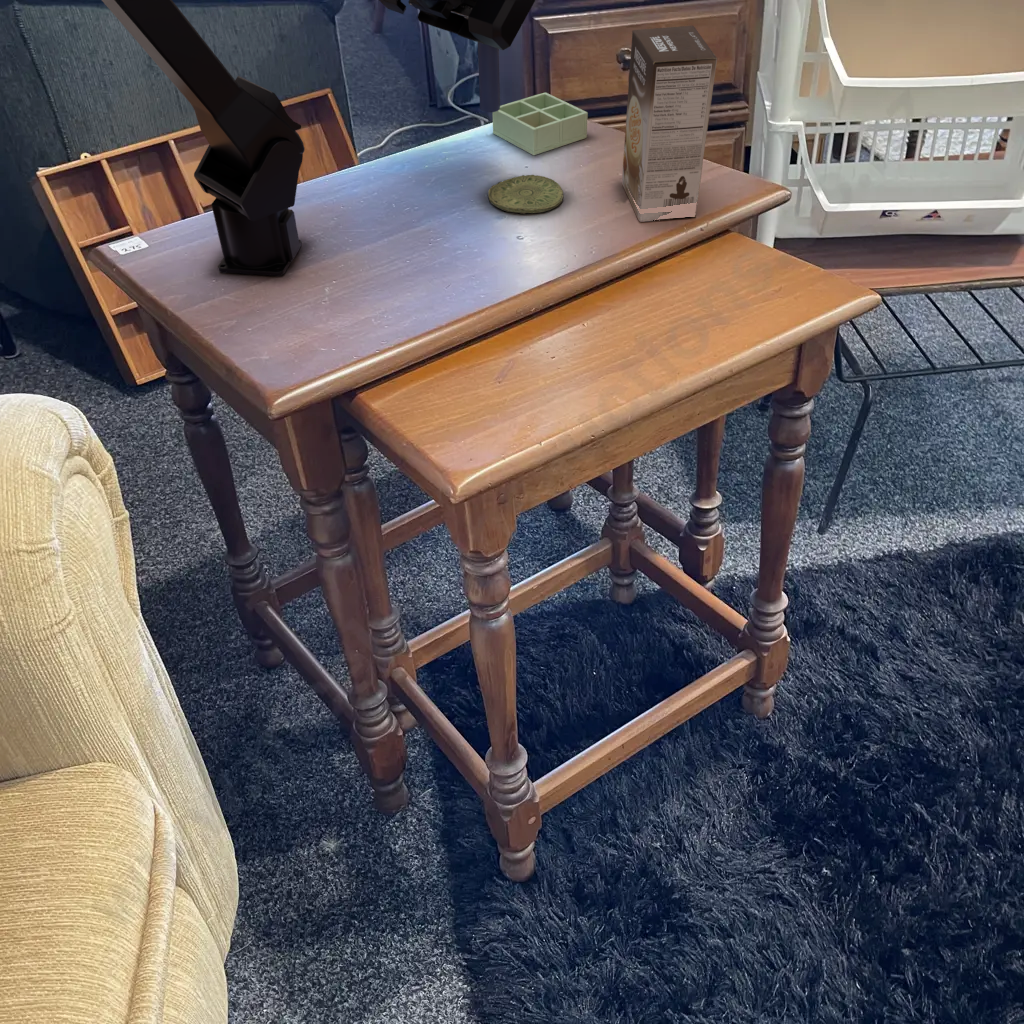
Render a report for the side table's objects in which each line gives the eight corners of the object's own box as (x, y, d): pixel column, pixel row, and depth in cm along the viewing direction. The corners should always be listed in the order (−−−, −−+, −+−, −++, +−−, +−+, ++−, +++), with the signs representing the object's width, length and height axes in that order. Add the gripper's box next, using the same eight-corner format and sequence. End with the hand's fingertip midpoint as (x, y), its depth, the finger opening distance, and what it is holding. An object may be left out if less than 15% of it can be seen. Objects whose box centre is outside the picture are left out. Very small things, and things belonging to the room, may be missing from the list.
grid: (533, 155, 113) (533, 129, 111) (492, 133, 118) (492, 108, 115) (586, 137, 116) (587, 112, 114) (545, 116, 121) (545, 92, 119)
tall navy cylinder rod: (485, 114, 106) (481, -7, 98) (476, 107, 108) (471, -13, 99) (503, 110, 107) (501, -11, 99) (494, 103, 108) (491, -16, 100)
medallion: (578, 194, 105) (578, 188, 105) (530, 221, 101) (530, 214, 100) (521, 173, 109) (521, 167, 109) (473, 198, 105) (472, 192, 104)
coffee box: (619, 184, 107) (629, 27, 96) (676, 180, 108) (693, 23, 97) (638, 223, 101) (652, 60, 90) (699, 219, 101) (720, 56, 90)
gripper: (521, -122, 84) (603, -10, 97) (386, -152, 94) (476, -47, 107) (457, -2, 86) (545, 92, 99) (330, -44, 96) (426, 47, 109)
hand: (497, 42), depth 103 cm, fingers closed on tall navy cylinder rod, 2 cm apart
